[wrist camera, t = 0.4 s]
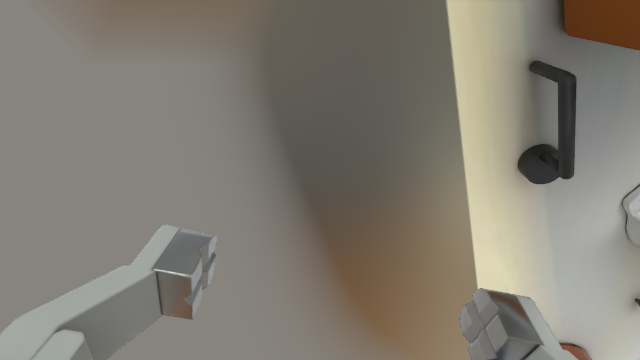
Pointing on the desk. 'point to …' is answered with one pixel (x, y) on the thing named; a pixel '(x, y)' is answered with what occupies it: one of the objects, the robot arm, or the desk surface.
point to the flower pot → (576, 352)
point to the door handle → (545, 159)
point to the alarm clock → (604, 21)
